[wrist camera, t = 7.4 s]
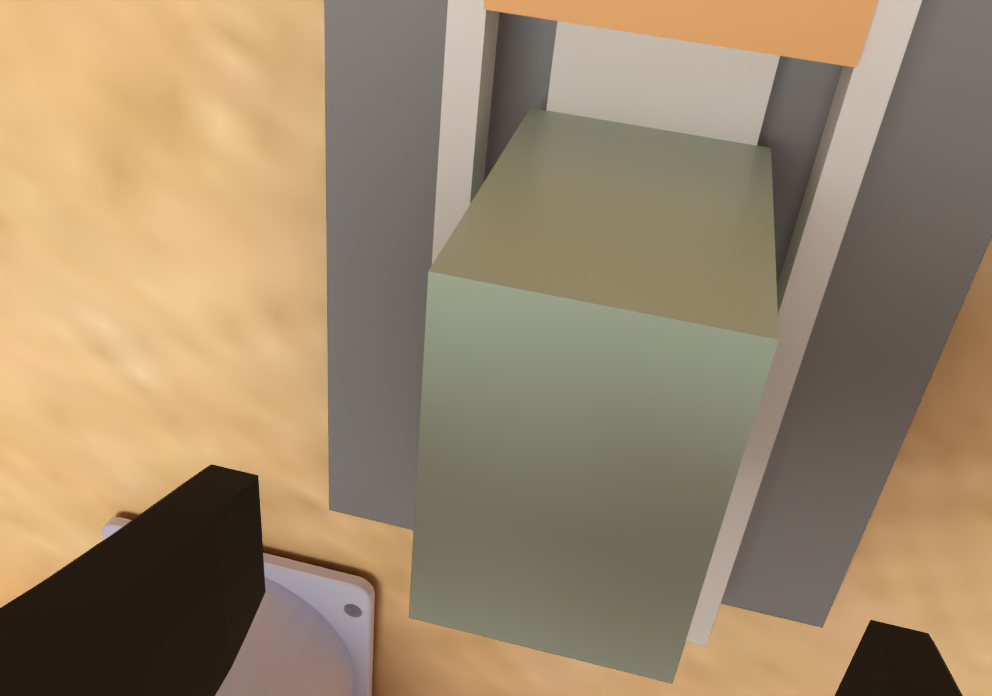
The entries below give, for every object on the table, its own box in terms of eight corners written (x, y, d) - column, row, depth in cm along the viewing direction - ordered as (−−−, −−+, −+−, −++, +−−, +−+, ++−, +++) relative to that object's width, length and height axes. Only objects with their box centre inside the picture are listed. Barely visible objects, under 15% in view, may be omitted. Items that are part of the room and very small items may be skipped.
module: (694, 434, 18) (672, 683, 14) (498, 393, 19) (408, 617, 14) (771, 147, 15) (779, 340, 10) (530, 107, 16) (428, 271, 11)
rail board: (819, 595, 22) (827, 700, 20) (343, 483, 24) (297, 567, 22) (1136, -162, 13) (1222, -142, 11) (345, -256, 15) (265, -256, 13)
